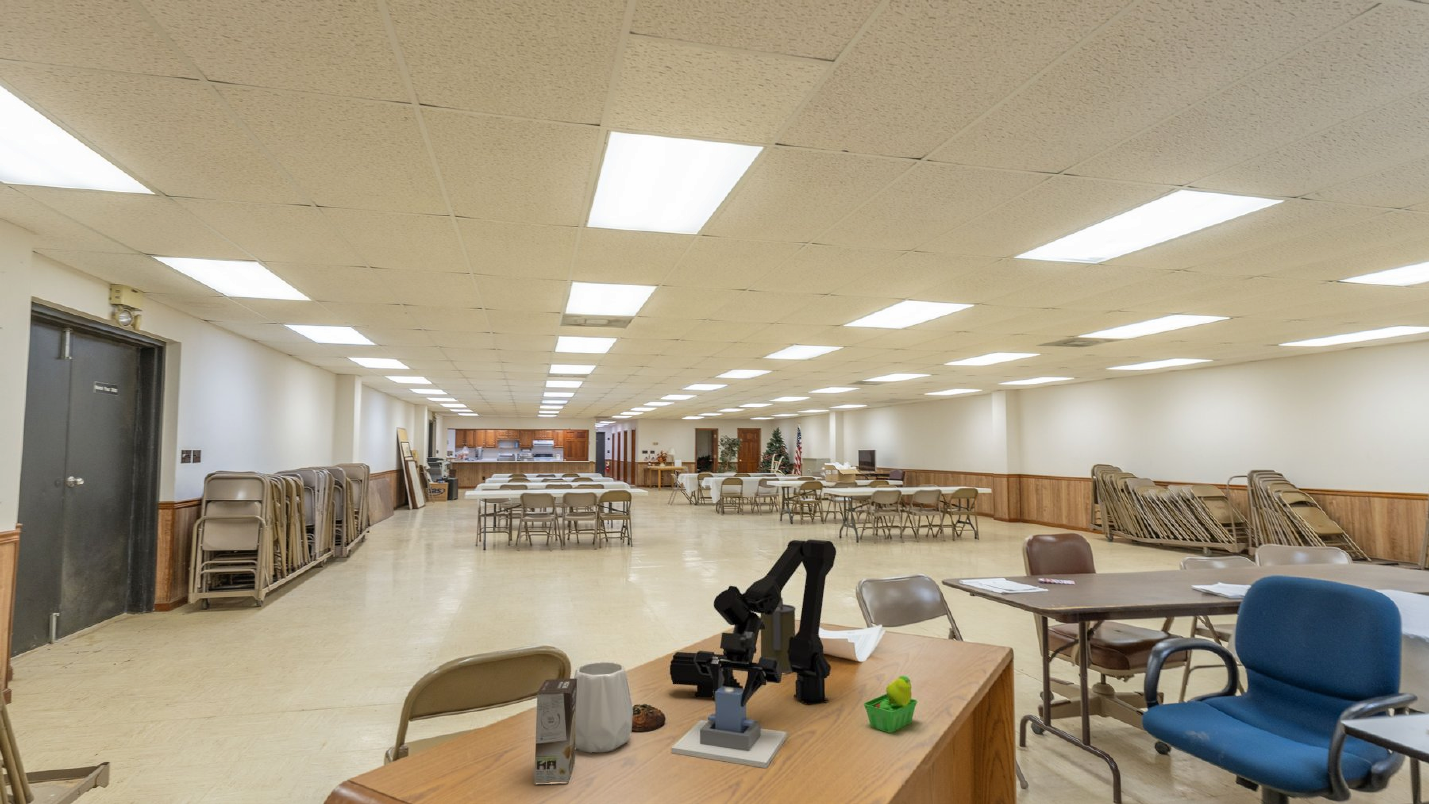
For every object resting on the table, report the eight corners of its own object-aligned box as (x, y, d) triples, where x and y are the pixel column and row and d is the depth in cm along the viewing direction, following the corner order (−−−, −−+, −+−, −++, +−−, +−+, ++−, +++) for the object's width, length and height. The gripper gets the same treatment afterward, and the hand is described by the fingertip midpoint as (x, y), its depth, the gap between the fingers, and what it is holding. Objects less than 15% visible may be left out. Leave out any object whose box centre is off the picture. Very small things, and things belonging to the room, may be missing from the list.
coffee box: (569, 784, 120) (571, 692, 121) (533, 785, 119) (536, 693, 121) (575, 762, 129) (577, 677, 131) (542, 763, 128) (544, 678, 130)
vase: (602, 762, 129) (603, 682, 130) (550, 747, 136) (552, 671, 138) (646, 738, 141) (647, 664, 142) (596, 725, 148) (597, 655, 150)
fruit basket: (889, 714, 155) (888, 664, 156) (924, 724, 149) (922, 672, 150) (862, 727, 147) (861, 674, 148) (898, 738, 141) (896, 683, 142)
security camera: (740, 703, 162) (740, 661, 163) (668, 698, 166) (668, 657, 167) (744, 694, 169) (744, 654, 170) (675, 689, 172) (675, 650, 173)
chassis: (671, 752, 133) (671, 732, 134) (700, 724, 148) (700, 706, 149) (766, 768, 126) (766, 747, 127) (787, 737, 141) (786, 718, 142)
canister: (761, 663, 196) (760, 594, 199) (796, 664, 195) (795, 595, 197) (758, 673, 186) (758, 601, 188) (795, 675, 184) (795, 602, 186)
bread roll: (665, 731, 144) (662, 708, 145) (615, 740, 143) (612, 716, 144) (666, 715, 155) (664, 693, 156) (619, 723, 154) (617, 700, 155)
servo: (706, 735, 137) (706, 687, 138) (713, 728, 141) (713, 682, 142) (749, 742, 134) (749, 693, 135) (755, 734, 138) (755, 687, 139)
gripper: (696, 613, 147) (676, 678, 136) (777, 619, 140) (763, 689, 129) (709, 641, 153) (691, 706, 142) (787, 648, 147) (774, 717, 135)
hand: (728, 704), depth 137 cm, fingers closed on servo, 5 cm apart
